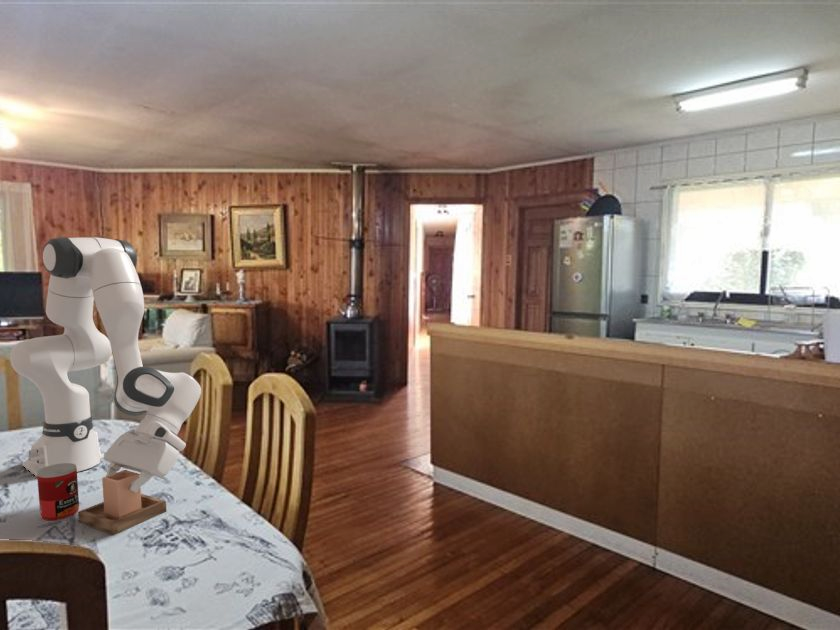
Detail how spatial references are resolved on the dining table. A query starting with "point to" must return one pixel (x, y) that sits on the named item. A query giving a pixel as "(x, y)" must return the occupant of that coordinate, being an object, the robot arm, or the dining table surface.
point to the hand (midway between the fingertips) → (118, 487)
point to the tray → (112, 526)
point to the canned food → (58, 491)
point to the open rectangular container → (120, 495)
